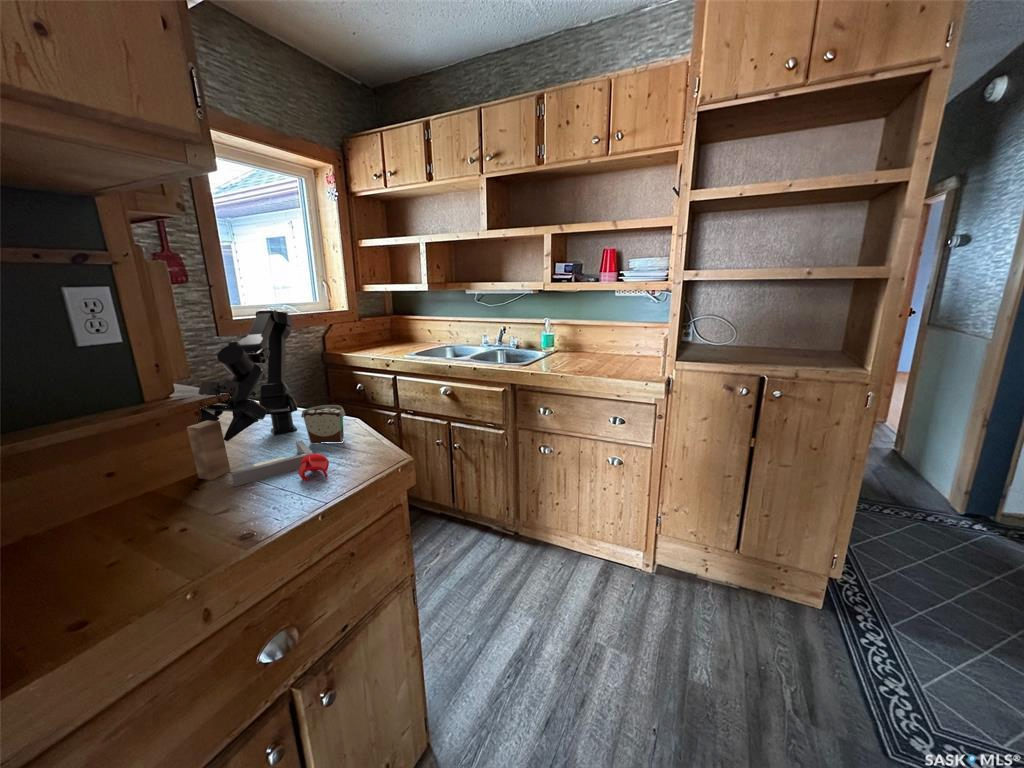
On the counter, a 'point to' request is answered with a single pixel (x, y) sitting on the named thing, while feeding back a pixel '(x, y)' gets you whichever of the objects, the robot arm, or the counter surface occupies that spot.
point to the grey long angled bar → (271, 467)
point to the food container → (324, 423)
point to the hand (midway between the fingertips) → (211, 439)
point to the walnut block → (208, 449)
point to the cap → (313, 465)
